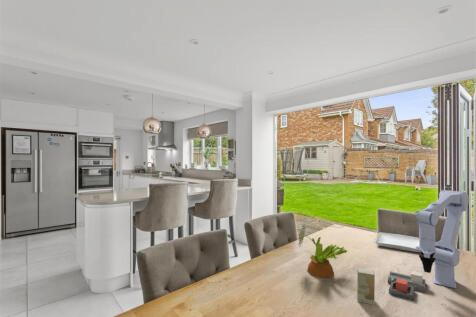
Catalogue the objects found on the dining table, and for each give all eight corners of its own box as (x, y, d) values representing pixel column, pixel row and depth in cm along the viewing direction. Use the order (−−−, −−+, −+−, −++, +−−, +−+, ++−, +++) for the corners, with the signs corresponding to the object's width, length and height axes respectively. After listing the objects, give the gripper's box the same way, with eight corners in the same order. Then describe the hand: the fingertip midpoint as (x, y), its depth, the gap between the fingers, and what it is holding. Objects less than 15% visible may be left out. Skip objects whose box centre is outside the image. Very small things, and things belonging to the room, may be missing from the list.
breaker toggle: (411, 279, 117) (411, 270, 117) (422, 281, 114) (422, 273, 114) (411, 282, 114) (411, 273, 114) (422, 285, 111) (421, 276, 111)
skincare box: (357, 301, 102) (357, 271, 102) (356, 296, 106) (356, 267, 106) (375, 305, 100) (375, 274, 100) (373, 299, 104) (373, 269, 104)
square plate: (374, 247, 165) (374, 241, 165) (379, 236, 188) (379, 231, 188) (425, 255, 150) (425, 249, 150) (423, 243, 172) (423, 237, 172)
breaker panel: (390, 275, 125) (390, 270, 125) (425, 283, 116) (425, 278, 116) (387, 283, 117) (387, 277, 117) (424, 292, 108) (424, 286, 108)
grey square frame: (391, 285, 114) (391, 281, 115) (414, 291, 109) (414, 286, 109) (388, 293, 108) (388, 289, 108) (412, 300, 103) (412, 295, 103)
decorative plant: (303, 259, 145) (303, 216, 145) (349, 267, 135) (348, 220, 135) (292, 279, 121) (291, 228, 121) (346, 290, 111) (345, 234, 111)
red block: (397, 289, 111) (397, 278, 111) (408, 292, 109) (407, 280, 109) (396, 293, 108) (395, 281, 108) (407, 296, 106) (406, 284, 106)
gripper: (416, 232, 118) (417, 261, 118) (415, 240, 107) (415, 272, 107) (435, 235, 114) (436, 265, 114) (436, 244, 103) (436, 277, 103)
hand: (427, 269), depth 110 cm, fingers open, 7 cm apart
